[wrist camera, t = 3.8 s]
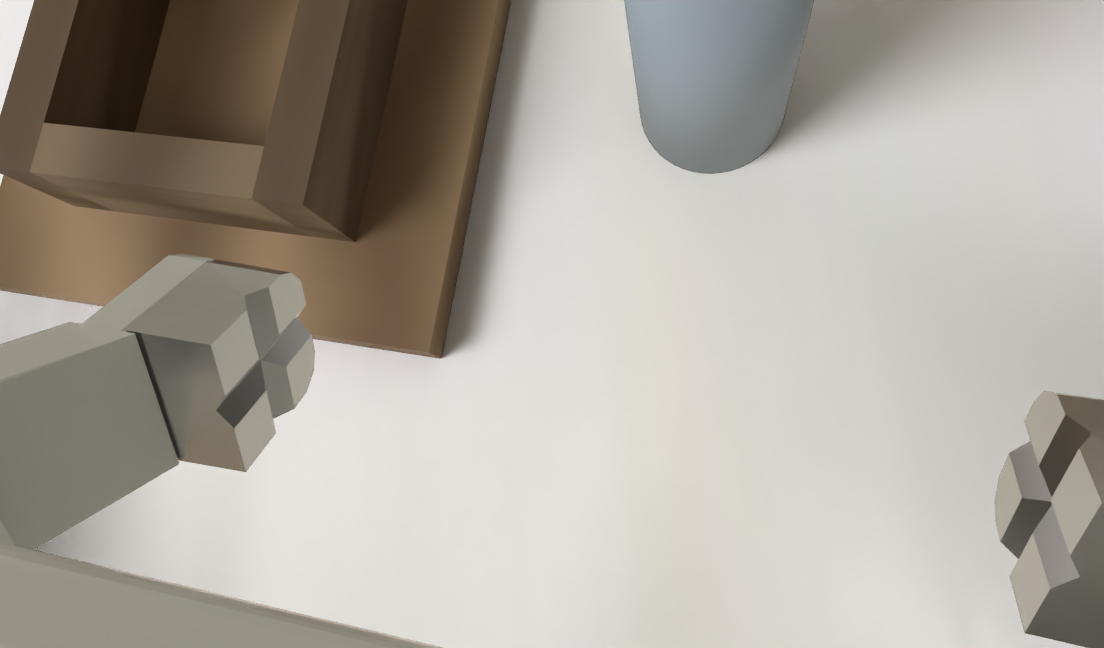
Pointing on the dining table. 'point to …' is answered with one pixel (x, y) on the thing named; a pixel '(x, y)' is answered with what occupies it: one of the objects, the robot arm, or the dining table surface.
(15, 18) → the dining table surface
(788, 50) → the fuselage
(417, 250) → the cradle
